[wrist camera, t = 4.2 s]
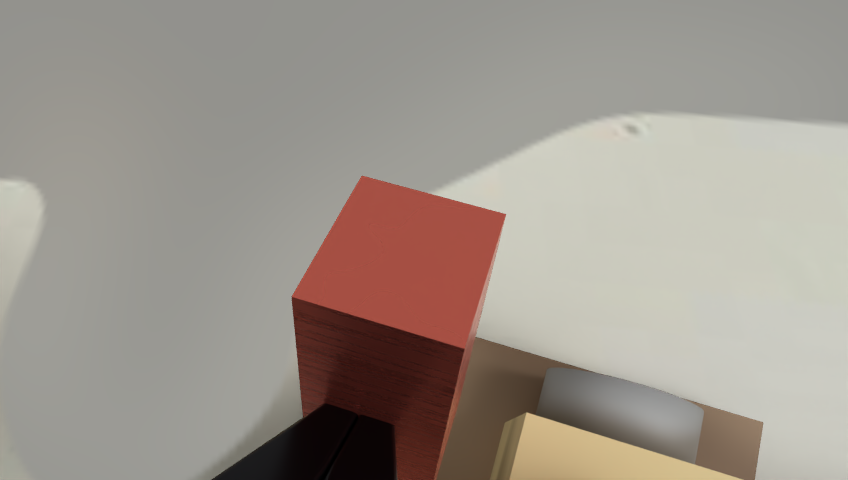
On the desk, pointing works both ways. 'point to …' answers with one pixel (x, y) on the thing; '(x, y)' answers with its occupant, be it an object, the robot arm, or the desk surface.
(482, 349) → the ball valve manifold
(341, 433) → the robot arm
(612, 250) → the desk surface
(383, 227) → the lever
